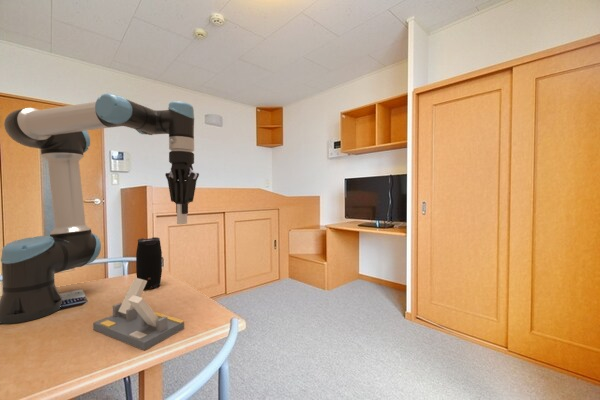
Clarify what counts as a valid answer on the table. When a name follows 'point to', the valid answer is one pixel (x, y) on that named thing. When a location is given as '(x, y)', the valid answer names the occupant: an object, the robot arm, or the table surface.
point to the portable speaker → (149, 261)
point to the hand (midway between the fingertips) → (182, 223)
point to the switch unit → (137, 328)
